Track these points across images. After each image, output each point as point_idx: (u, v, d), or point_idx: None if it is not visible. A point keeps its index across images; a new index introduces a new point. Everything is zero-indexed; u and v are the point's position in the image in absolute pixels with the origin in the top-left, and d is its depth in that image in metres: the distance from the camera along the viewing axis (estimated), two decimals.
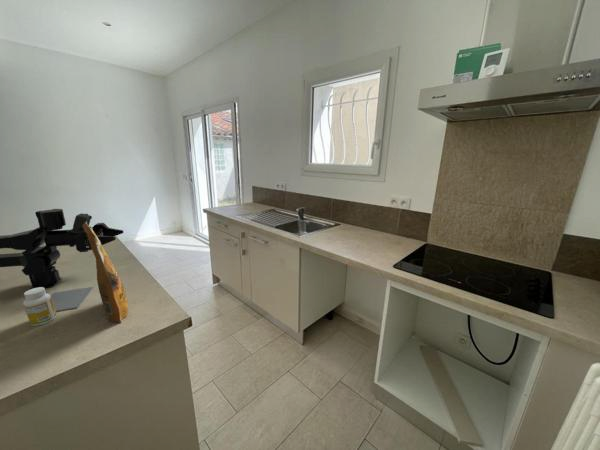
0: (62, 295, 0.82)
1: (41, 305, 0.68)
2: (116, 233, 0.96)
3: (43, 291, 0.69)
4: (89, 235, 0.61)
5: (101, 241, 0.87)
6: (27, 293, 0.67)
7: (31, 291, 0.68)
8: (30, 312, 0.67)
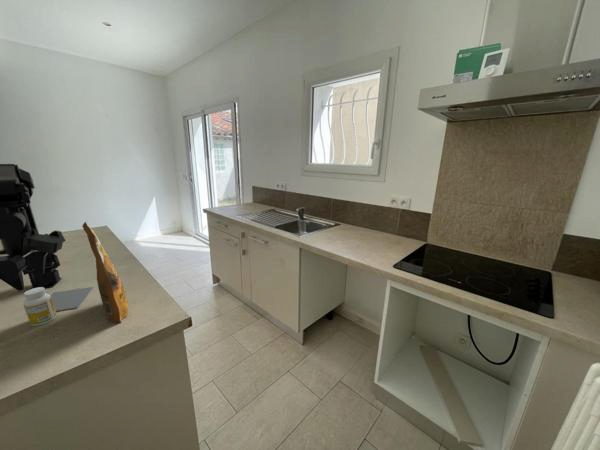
0: (62, 295, 0.82)
1: (41, 305, 0.68)
2: (36, 267, 0.70)
3: (43, 291, 0.69)
4: (89, 235, 0.61)
5: (10, 279, 0.61)
6: (27, 293, 0.67)
7: (31, 291, 0.68)
8: (30, 312, 0.67)
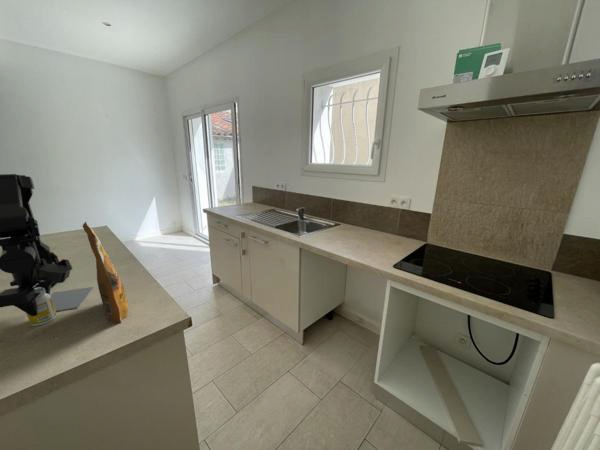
0: (62, 295, 0.82)
1: (41, 305, 0.68)
2: None
3: (43, 291, 0.69)
4: (89, 235, 0.61)
5: (25, 306, 0.65)
6: None
7: None
8: None
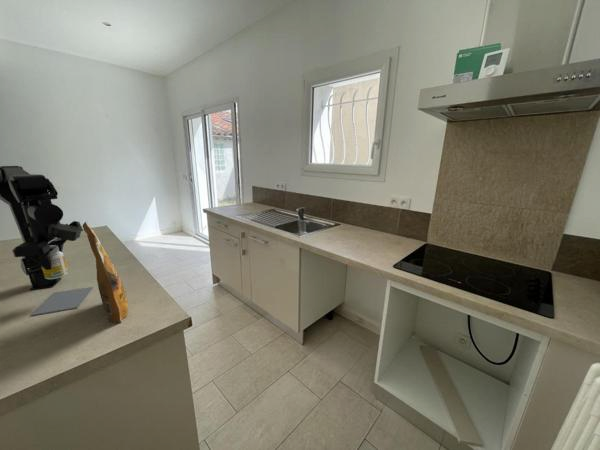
0: (62, 295, 0.82)
1: (55, 260, 0.75)
2: None
3: (57, 248, 0.75)
4: (89, 235, 0.61)
5: (40, 259, 0.72)
6: None
7: None
8: None
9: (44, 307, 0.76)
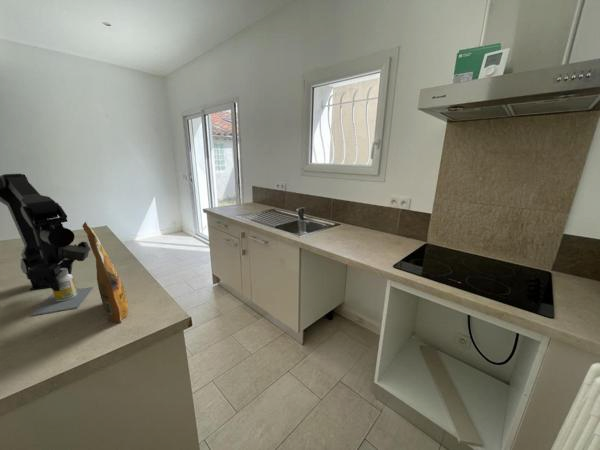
0: None
1: (65, 283, 0.78)
2: None
3: (66, 271, 0.79)
4: (89, 235, 0.61)
5: (49, 281, 0.74)
6: None
7: None
8: None
9: (44, 307, 0.76)
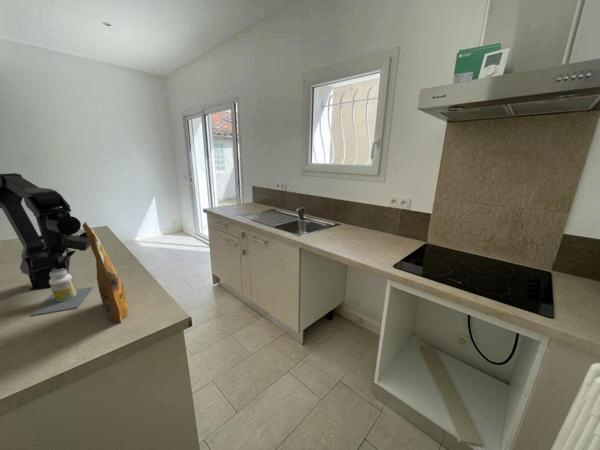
0: None
1: (65, 284, 0.78)
2: None
3: (65, 272, 0.78)
4: (89, 235, 0.61)
5: (58, 265, 0.79)
6: (52, 273, 0.76)
7: (55, 272, 0.77)
8: (55, 289, 0.77)
9: (44, 307, 0.76)
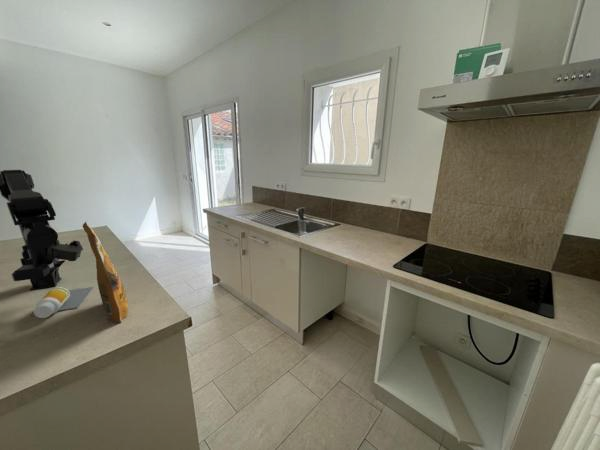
0: None
1: (59, 308, 0.74)
2: None
3: (52, 309, 0.71)
4: (89, 235, 0.61)
5: (45, 277, 0.72)
6: (40, 316, 0.69)
7: (40, 312, 0.69)
8: None
9: None
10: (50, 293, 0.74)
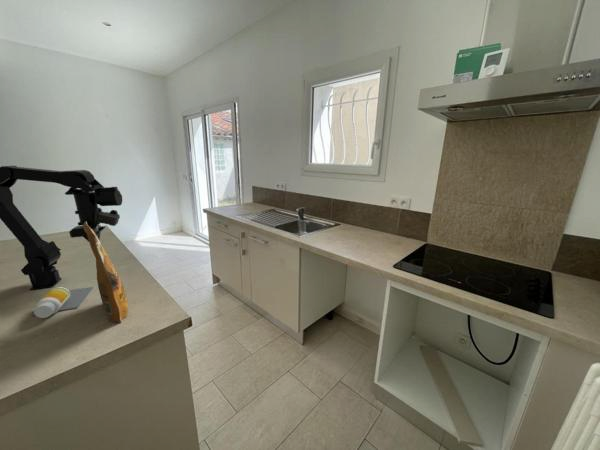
0: None
1: (59, 308, 0.74)
2: None
3: (53, 309, 0.71)
4: (89, 235, 0.61)
5: None
6: (40, 315, 0.69)
7: (40, 312, 0.69)
8: None
9: None
10: (51, 293, 0.74)
